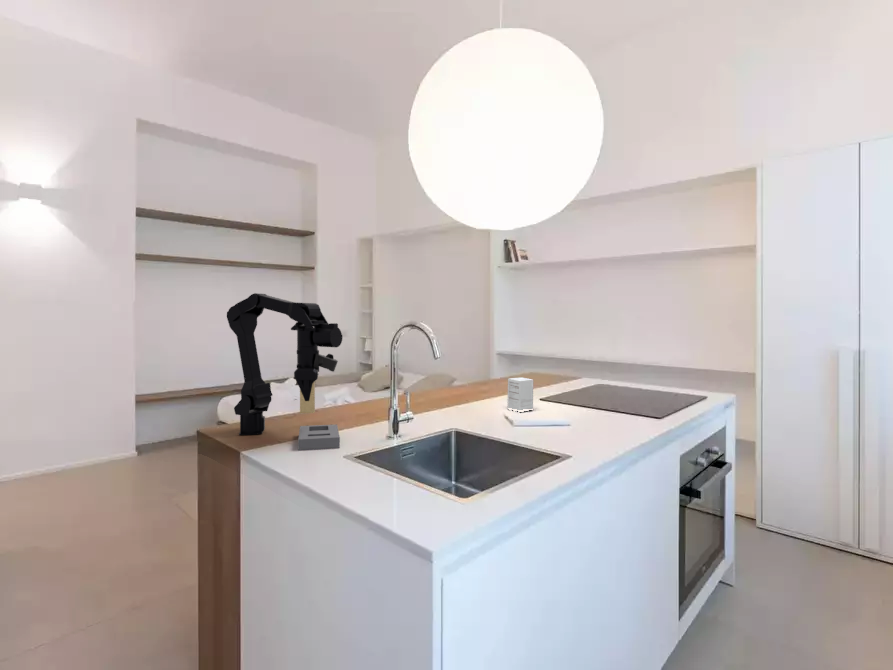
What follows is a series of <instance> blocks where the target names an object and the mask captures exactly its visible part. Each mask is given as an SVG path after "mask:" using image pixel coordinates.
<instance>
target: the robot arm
mask: <svg viewBox="0 0 893 670" xmlns="http://www.w3.org/2000/svg"><path fill="white" fill-rule="evenodd" d="M264 310H269V311H272V312H276V313H280V314H284V315H286V316H288V317H289V319H291V320H293V321H294V322H295V324H294V325H293V326H291V327H290V330H291V331H296V332H297V333H296V334H297V335H296V337H297V338H296V342H297V343H296V345H297V346H296V348H297V349H296V355H297V356H296V357H297V358H296V361H297V363H296V369H295V370H294V371H293V378H294V380H295V381H296V383H297V385H298V387H299V391H300V390H301V392H302V395H303V397H304V399H305V401H309V399H310V394H311V389H312V384H313V382H314V381H315V382H316V381H317V380H318V378H319V372H320V368H323V369H325V370H328V371H330V372H333V373H334V372H335V370H336V367H337V364H338V359H335V358H334V355H333V354H331V353H328V354H327V355H322V354H320V350H319V349H318V348H338V347H340V346H341V345H342V343H343V342H342V341H343V334H342V331H341V329H340V328H339V324H338V323H335V322H334V323H331V322H330V323H329V322H328V320H327V319H326V318H325V315H324V314H323V313H322V310H321V307H320V305H319V304H317V303H314V302H296V301H290V300H287V299H282V298H279V297H275V296H270V295H267V294H266V293H256V292H254V293H252V294H250V295H249V296H247V298H245V299H243V300H241V301H238V302H237V303H235V304H234V305H232V306H231V307H229V309H228V311H226V319H227V322H228V326H229V329H230V330H232V332H233V333H234V334H235V336H236V339H237V346H238V351H239V352H238V353H239V357H240V364H241V368H242V374H243V380H244V382H243V384H242V386H241V387H242V388H241V391H240V397H241V398H240V400H239V401H238V402H237V404H235V406H234V407H233V410H234V414H235V415H236V416H237V415H238V416H239V433H238V436H247V435H248V436H249V435H250V436H251V435H262V434H263V433H264V431H265V429H266V416H264V412H268V410H269V406H270V403H271V402H272V396H273V393H272V390H271V389H272V388H271V383H270V382H266V381H264V379H263V378H262V373H261V367H260V361H259V360H260V359H259V356H258V350H257V344H256V338H255V331H256V328H257V326H258V318H259V317H260V316H261V315H262V314H263V313H264Z"/></svg>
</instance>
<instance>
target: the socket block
mask: <svg viewBox="0 0 893 670" xmlns="http://www.w3.org/2000/svg"><path fill="white" fill-rule="evenodd" d="M340 439H341V437H340V432H339V427H338V424H320V425H319V424H318V425H299V431H298V440H297V441H298V443H297V444H298V447H297V448H298V451H309V450H310V451H311V450H313V449H314V450H325V449H326V450H327V449H328V448H332V449H340V447H341V445H340V443H341V440H340ZM328 450H329V449H328Z"/></svg>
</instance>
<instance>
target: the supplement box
mask: <svg viewBox="0 0 893 670" xmlns="http://www.w3.org/2000/svg"><path fill="white" fill-rule="evenodd" d="M508 408H512V409H517V410H523V409H532V408H533V409H534V379H531V378H528V377H527V378H526V377H522V376H521V377H511V378H507V409H508Z"/></svg>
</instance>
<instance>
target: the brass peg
mask: <svg viewBox="0 0 893 670" xmlns="http://www.w3.org/2000/svg"><path fill="white" fill-rule="evenodd" d="M315 411H316V381H314V382H313V384H312V389H311V394H310V399H309V401H305V399H304V397H303V395H302V392H301V390H300V389H299V414H315Z"/></svg>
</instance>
